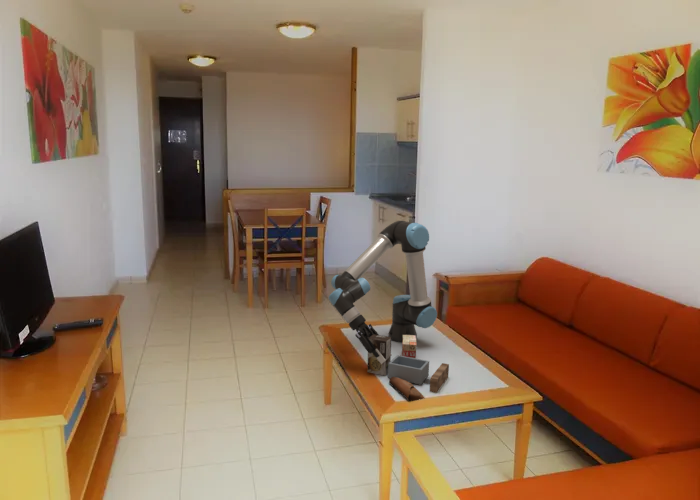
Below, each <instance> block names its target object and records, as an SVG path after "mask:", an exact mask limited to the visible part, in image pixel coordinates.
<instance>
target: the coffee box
mask: <svg viewBox="0 0 700 500" xmlns="http://www.w3.org/2000/svg"><path fill="white" fill-rule="evenodd" d="M369 340H370V341H371V342H372V344H373V345H374V347H375V350H376V349H378V351H379V352H380V353H381V354H382V356H383V357H384V358H385V359H386V361H385V362H383V363H382V364H381V363H380V362H379V361H378V359H377V358H376V357H375V356H374V354H373V353H368V352H367V373H371V374H374V375H375V374H376V375H381V376H388V363H389V362H390V361H391V360H392V359H391V356H392V355H391V354H392V340H391V337H388V335H387V336H386V335H380V334H379V335H375V334H374V335H372V336H371V337H369Z"/></svg>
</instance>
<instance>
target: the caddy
mask: <svg viewBox="0 0 700 500" xmlns="http://www.w3.org/2000/svg"><path fill="white" fill-rule="evenodd" d="M429 371H430V360H425V359H420V358H417V357H416V358H410V357H405V356H402V355H399V354H396V356H395V357H394V358H393V359H391V361H390V362H389V363H388V374H387V378H388V379H390V378H391V377H397V378H400V379H403V380H405V381H408V382H409V383H411V384H415V385H422V384H424V383H423V382H424V380H425V379H428V377H429Z"/></svg>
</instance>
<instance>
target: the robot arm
mask: <svg viewBox="0 0 700 500" xmlns="http://www.w3.org/2000/svg"><path fill="white" fill-rule="evenodd" d="M429 241H430V232H429V230H428V229H427V227H426V226H424V225H423V224H420V223H418V222H411V221H406V220H396V221H394V222H392V223H391V224H389V225H387V226H386V227H385V228H383V229H382V230H381V231H380V232H379V233H378V234H377V238H376V239H375V240H374V241H373V242H372V243H371V244H369V246H368V247H367V248H366V249H364V251H363V252H362V254H360V256H358V257H357V258H356V259H355V261H353V262H352V264H350V266H348V268H346V269H345V271H343V272H342V273H341V274H336V275H334V276H333V277H332V278H331V281H330V282H331V287H332V288H333V289H334V290H333V291H332V292H331V293H330V294H329V295H328V300H329V303H331V305H332V306H333V307H334V309H335V310H336V311H337V312H338V313H339V315H340V316H341V317H342V318H343V320H344V321H345V322H346V323H347V324H348V327H350V329H351V330H352V331H356V334H354V336H355V337H356V338H357V340H358V341H359V342H360V344H362V346H363V347H364V349H365V350H366V351H367V354H368V353H373V354H374V356H375V357H376V358H377V359H378V361H379V362H380V363H381V364H382V363H383V362H385V361H386V359H385V358H384V357H383V356H382V354H381V353H380V352H379V351H378V349H376V350H375V347H374V345H373V344H372V342H371V341H370V340H369V337H371V336H372V335H374V334H375V335H380V334H379V333H378V332H377V331H376V329H375V328H374V327H373V326H372V324H371V323H370V324H367V323H366V318H365V317H364V316H363V314H361V312H360V310H359V309H358V308H357V306H356V305H354V303H356V302H357V301H358V300H360V299H361V298H363V297H364V296H366V295H367V294H368V293H369V291H371V284H370V283H369V281H368V280H367V279H366V278H364V277H362V276H363V275H364V274H365V273H367V271H368V270H369V269H370V268H371V267H373V265H374V264H375V263H376V262H377V261H378V260H380V258H381V257H382V256H383V255H384V254H385V253H386V252H387V251H388V250H389V249H393V248H394V247H395V246H396V245H398V244H399V245H401V246H400V247H401V252H402V253H403V254H404V255H405V263H406V269H407V270H406V271H407V280H408V286H409V287H408V289H409V294H399V295H395V296H394V297H393V299H392V314H391V315H392V317H391V318H392V319H391V320H392V321H391V325H390V328H389V330H388V335H387V337H391V341H393V342H398V343H402V337H403V335H415V336H416V340H417V338H418V333H417V330H416V327H419V328H421V329H428V328H430V327H431V326H433V325H434V323H435V322H436V320H437V317H438V312H437V309H436V307H434V306H432V305H433V304H432V299H431V298H430V297H428V288H427V281H426V280H427V279H426V269H425V260H424V251H425V250H426V247H427V245H429V243H428V242H429ZM391 356H392V353H391Z"/></svg>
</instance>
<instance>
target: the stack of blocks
mask: <svg viewBox="0 0 700 500" xmlns="http://www.w3.org/2000/svg"><path fill="white" fill-rule="evenodd" d="M401 343H402V345H401V349H402V350H401V356H405V357H410V358H416V359H417V339H416V336H415V335H403V337H402V342H401Z"/></svg>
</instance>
